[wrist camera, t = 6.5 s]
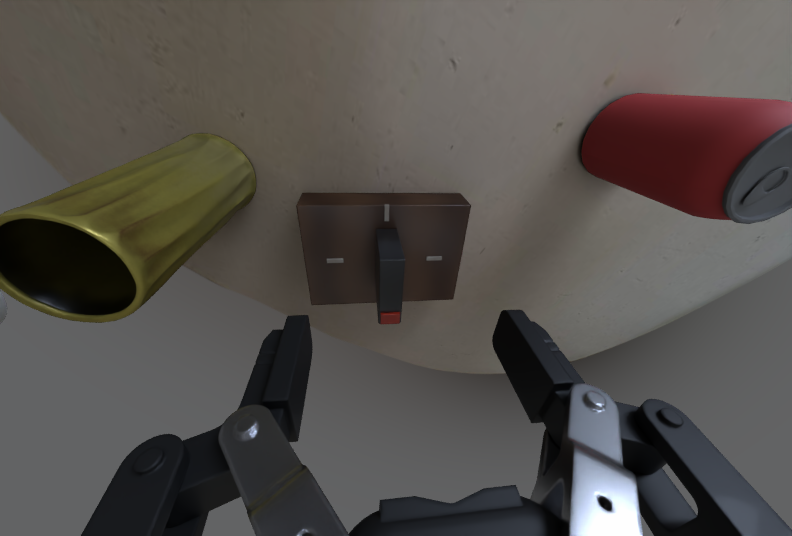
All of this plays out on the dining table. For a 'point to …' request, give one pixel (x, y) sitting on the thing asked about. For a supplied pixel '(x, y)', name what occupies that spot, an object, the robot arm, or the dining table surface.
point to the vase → (122, 230)
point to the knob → (389, 276)
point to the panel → (356, 243)
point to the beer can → (697, 153)
